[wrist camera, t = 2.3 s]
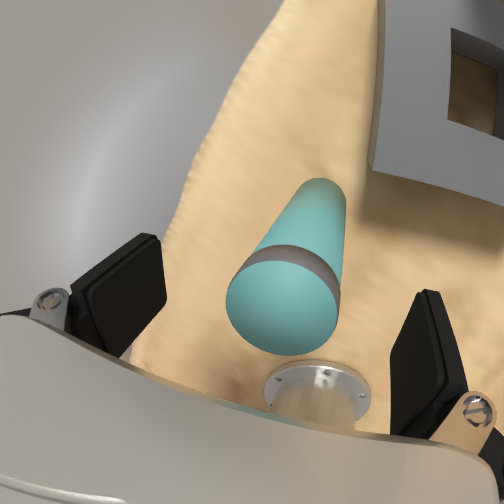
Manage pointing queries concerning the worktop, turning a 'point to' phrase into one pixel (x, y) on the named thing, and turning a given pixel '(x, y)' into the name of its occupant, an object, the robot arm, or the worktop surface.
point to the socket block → (436, 95)
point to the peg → (293, 275)
